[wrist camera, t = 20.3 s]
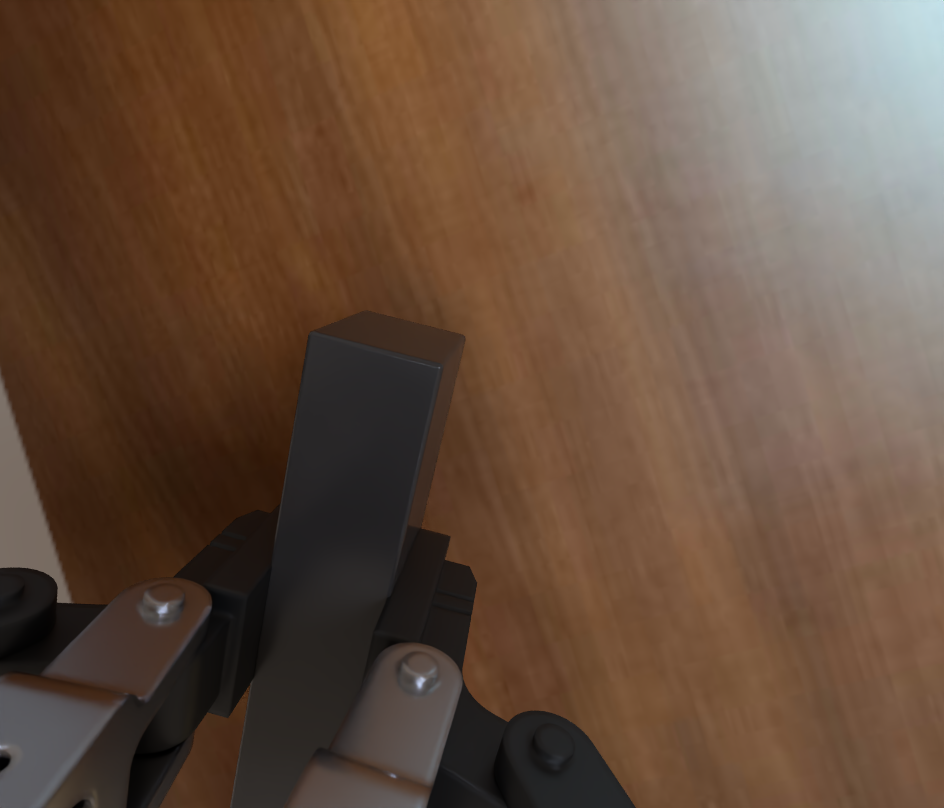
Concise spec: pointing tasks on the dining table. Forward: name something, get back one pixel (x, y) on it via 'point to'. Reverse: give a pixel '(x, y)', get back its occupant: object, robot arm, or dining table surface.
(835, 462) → the dining table surface
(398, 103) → the dining table surface
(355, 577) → the screwdriver
